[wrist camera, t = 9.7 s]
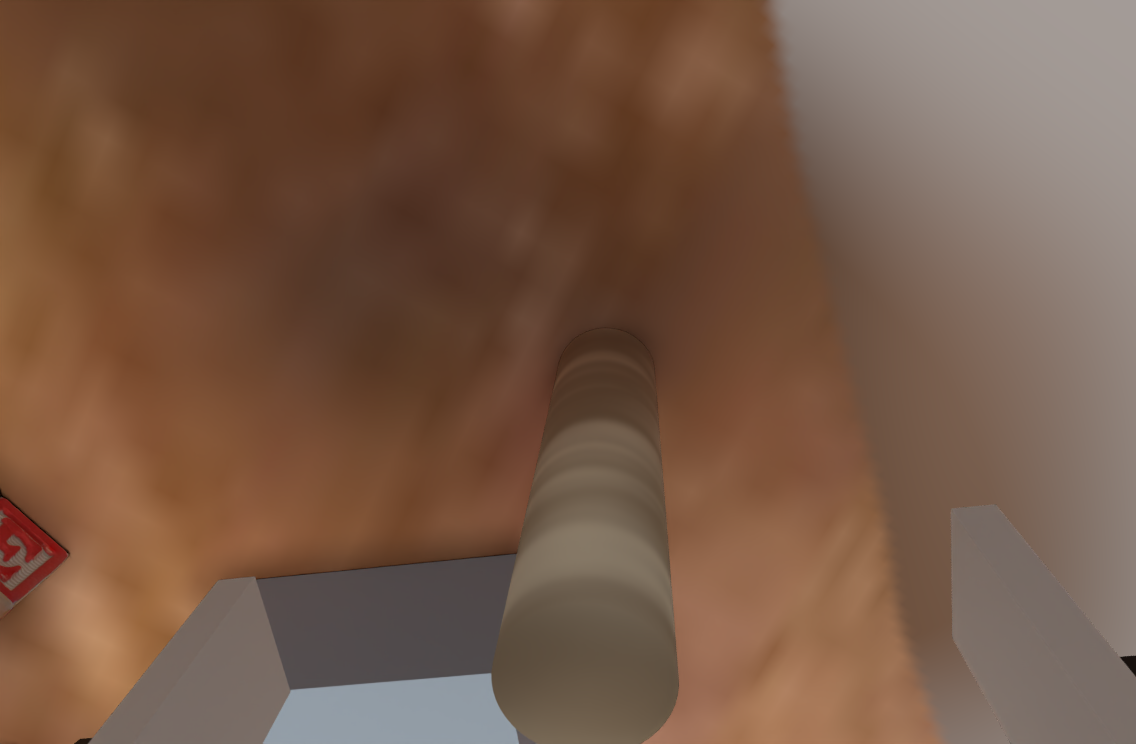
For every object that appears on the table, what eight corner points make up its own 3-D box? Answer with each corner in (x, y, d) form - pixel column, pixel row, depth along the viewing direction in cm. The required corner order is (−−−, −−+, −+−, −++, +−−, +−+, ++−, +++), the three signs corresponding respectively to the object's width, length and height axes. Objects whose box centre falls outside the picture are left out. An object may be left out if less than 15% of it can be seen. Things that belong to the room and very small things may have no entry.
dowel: (550, 334, 27) (475, 612, 14) (648, 322, 26) (667, 594, 13) (565, 424, 28) (508, 762, 15) (660, 413, 27) (688, 749, 14)
